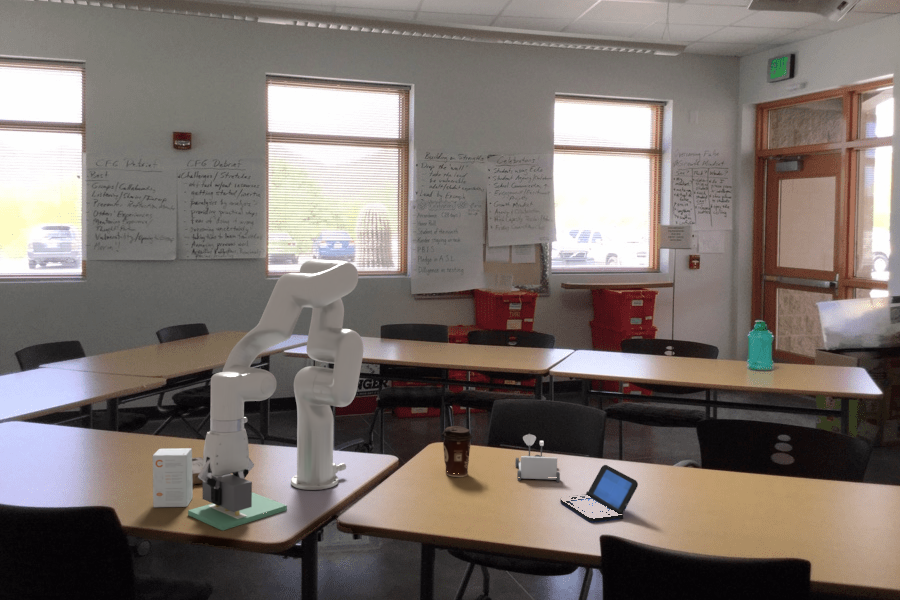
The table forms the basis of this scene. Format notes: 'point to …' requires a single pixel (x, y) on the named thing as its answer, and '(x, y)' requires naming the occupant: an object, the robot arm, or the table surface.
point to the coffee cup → (456, 450)
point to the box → (196, 470)
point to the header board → (237, 513)
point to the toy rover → (536, 464)
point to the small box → (172, 477)
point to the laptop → (608, 493)
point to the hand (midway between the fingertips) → (226, 500)
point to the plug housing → (232, 492)
